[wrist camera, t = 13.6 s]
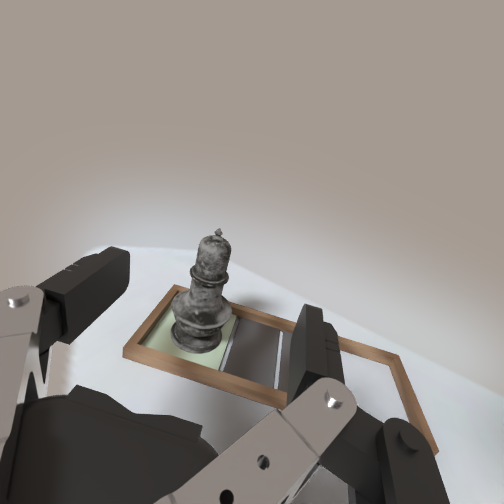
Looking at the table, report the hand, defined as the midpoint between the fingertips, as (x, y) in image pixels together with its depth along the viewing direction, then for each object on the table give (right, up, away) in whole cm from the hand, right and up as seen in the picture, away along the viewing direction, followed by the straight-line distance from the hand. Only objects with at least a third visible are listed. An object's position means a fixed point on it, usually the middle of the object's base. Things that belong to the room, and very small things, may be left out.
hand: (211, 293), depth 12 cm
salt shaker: (-4, -7, +16) cm, 18 cm away
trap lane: (+4, -9, +16) cm, 19 cm away
